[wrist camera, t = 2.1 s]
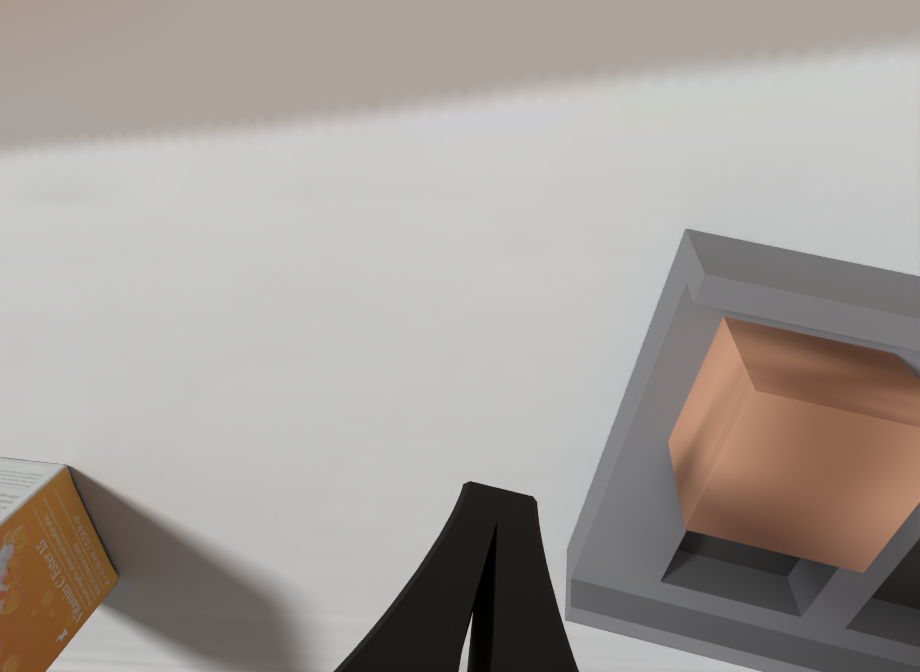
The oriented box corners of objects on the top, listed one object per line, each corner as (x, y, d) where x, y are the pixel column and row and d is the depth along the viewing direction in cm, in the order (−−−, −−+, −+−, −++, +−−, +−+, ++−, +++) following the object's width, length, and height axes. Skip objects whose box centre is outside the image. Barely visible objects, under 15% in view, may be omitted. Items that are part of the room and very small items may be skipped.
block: (896, 353, 16) (969, 439, 13) (816, 476, 18) (863, 573, 15) (723, 316, 16) (755, 390, 13) (667, 441, 18) (684, 529, 15)
